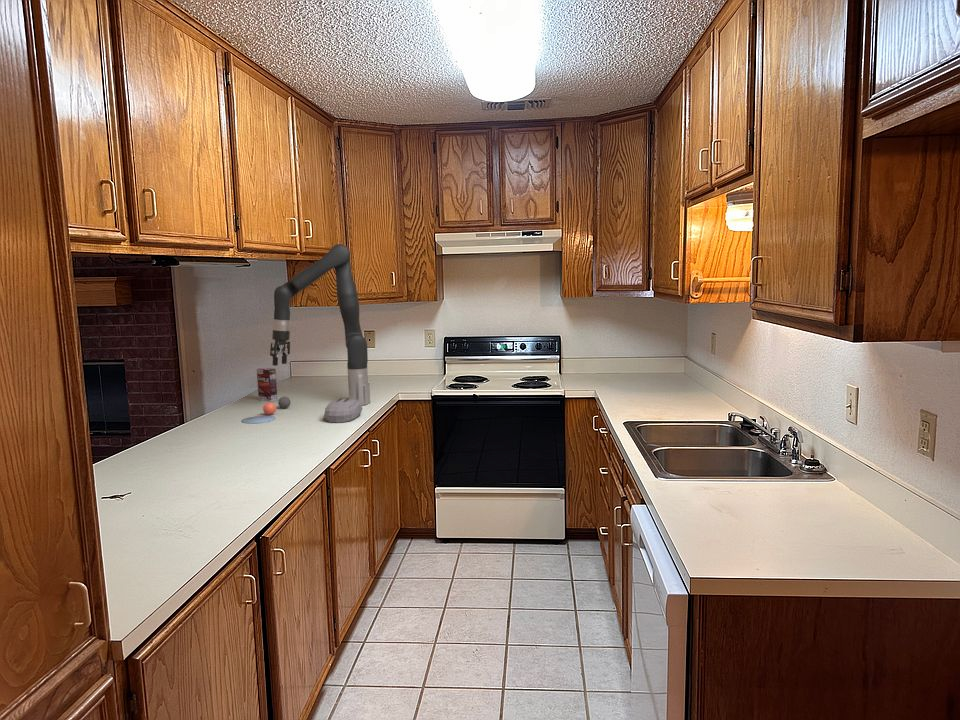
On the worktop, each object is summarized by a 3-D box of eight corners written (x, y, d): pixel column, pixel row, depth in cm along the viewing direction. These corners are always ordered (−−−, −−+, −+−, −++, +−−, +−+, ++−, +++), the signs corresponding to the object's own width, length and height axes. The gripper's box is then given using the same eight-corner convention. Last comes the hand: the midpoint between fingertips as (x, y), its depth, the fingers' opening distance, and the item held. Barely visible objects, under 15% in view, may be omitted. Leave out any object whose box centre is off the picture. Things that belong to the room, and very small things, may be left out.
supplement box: (258, 400, 323) (255, 369, 321) (265, 398, 327) (263, 367, 325) (270, 401, 319) (268, 369, 317) (278, 400, 323) (276, 368, 321)
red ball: (278, 413, 291) (277, 401, 290) (272, 416, 285) (271, 403, 284) (267, 413, 292) (266, 401, 291) (261, 416, 286) (260, 403, 285)
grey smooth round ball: (292, 407, 304) (292, 395, 303) (287, 409, 299) (286, 397, 298) (282, 406, 305) (281, 395, 304) (276, 409, 300) (275, 397, 299)
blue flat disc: (281, 416, 284) (281, 416, 284) (265, 423, 271) (265, 423, 270) (251, 415, 287) (251, 415, 287) (234, 423, 273) (234, 422, 273)
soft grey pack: (333, 413, 289) (318, 424, 269) (332, 395, 288) (317, 404, 268) (366, 413, 287) (354, 424, 268) (365, 395, 286) (353, 404, 267)
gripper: (281, 330, 288) (279, 367, 290) (296, 329, 302) (294, 364, 304) (265, 329, 290) (264, 365, 291) (281, 328, 304) (279, 362, 305)
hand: (279, 364), depth 298 cm, fingers open, 8 cm apart
